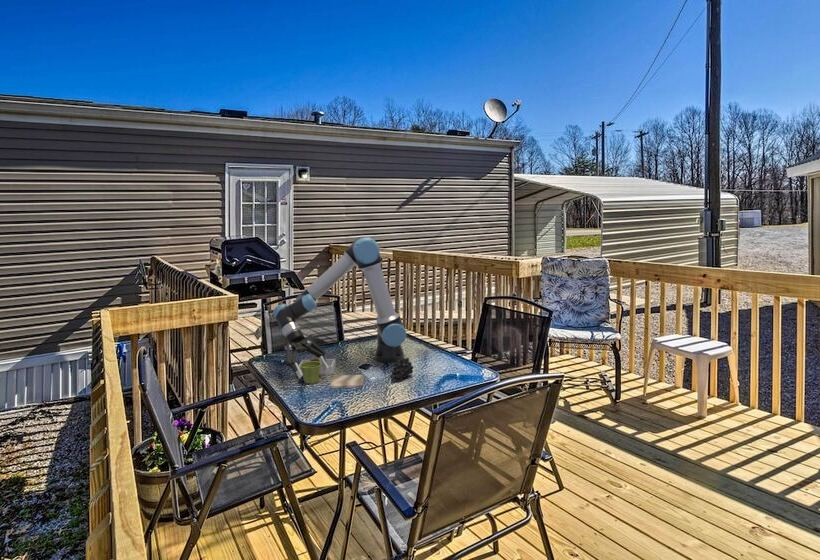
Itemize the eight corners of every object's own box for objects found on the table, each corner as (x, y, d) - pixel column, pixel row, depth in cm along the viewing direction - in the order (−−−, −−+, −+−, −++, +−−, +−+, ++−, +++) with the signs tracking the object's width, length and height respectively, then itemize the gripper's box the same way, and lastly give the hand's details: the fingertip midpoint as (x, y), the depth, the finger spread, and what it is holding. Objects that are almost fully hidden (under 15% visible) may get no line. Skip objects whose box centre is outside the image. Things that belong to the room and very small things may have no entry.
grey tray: (335, 367, 239) (335, 358, 238) (332, 375, 227) (332, 366, 226) (302, 368, 238) (302, 359, 238) (297, 376, 226) (297, 367, 226)
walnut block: (323, 368, 235) (322, 356, 234) (321, 371, 230) (321, 359, 229) (312, 368, 235) (312, 356, 234) (310, 372, 230) (310, 359, 229)
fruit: (394, 363, 212) (412, 354, 225) (380, 367, 217) (398, 357, 230) (400, 382, 212) (418, 372, 225) (385, 385, 217) (404, 375, 229)
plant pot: (317, 387, 212) (316, 367, 210) (297, 386, 213) (296, 367, 212) (325, 380, 221) (324, 361, 220) (306, 379, 223) (305, 360, 221)
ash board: (364, 376, 224) (364, 374, 224) (362, 387, 210) (362, 385, 210) (333, 377, 224) (333, 375, 224) (329, 388, 210) (329, 386, 210)
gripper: (313, 334, 234) (333, 370, 226) (266, 344, 217) (286, 384, 208) (319, 324, 230) (340, 361, 221) (271, 334, 212) (292, 375, 204)
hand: (314, 373), depth 215 cm, fingers open, 13 cm apart
